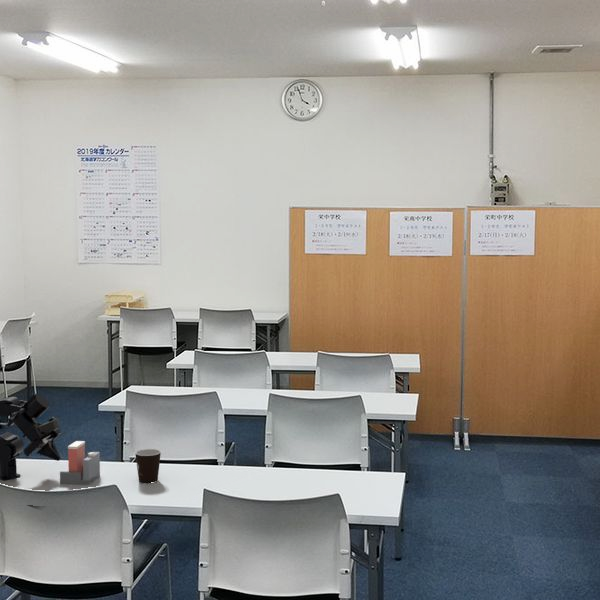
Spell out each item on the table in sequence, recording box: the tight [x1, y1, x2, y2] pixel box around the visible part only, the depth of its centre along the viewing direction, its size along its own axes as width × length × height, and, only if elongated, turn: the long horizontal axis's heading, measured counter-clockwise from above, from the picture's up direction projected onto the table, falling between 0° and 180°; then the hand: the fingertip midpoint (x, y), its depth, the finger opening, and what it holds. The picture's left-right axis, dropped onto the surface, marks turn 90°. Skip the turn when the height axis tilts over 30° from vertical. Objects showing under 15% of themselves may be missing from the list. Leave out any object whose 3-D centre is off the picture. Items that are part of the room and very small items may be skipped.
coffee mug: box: [134, 448, 162, 484], centre depth 265 cm, size 12×9×10 cm
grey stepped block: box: [59, 451, 101, 486], centre depth 265 cm, size 10×10×10 cm
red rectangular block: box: [67, 440, 86, 474], centre depth 265 cm, size 3×7×11 cm, turn 174°
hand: (59, 459), depth 265 cm, fingers closed
